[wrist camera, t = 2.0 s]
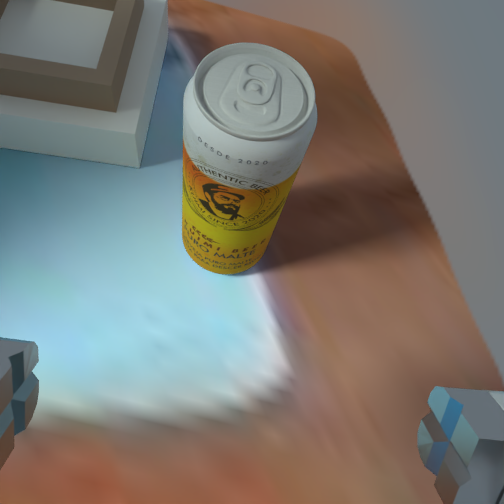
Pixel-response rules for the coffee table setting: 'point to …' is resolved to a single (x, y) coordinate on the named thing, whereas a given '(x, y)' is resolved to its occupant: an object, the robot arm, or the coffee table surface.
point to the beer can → (241, 151)
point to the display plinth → (80, 76)
